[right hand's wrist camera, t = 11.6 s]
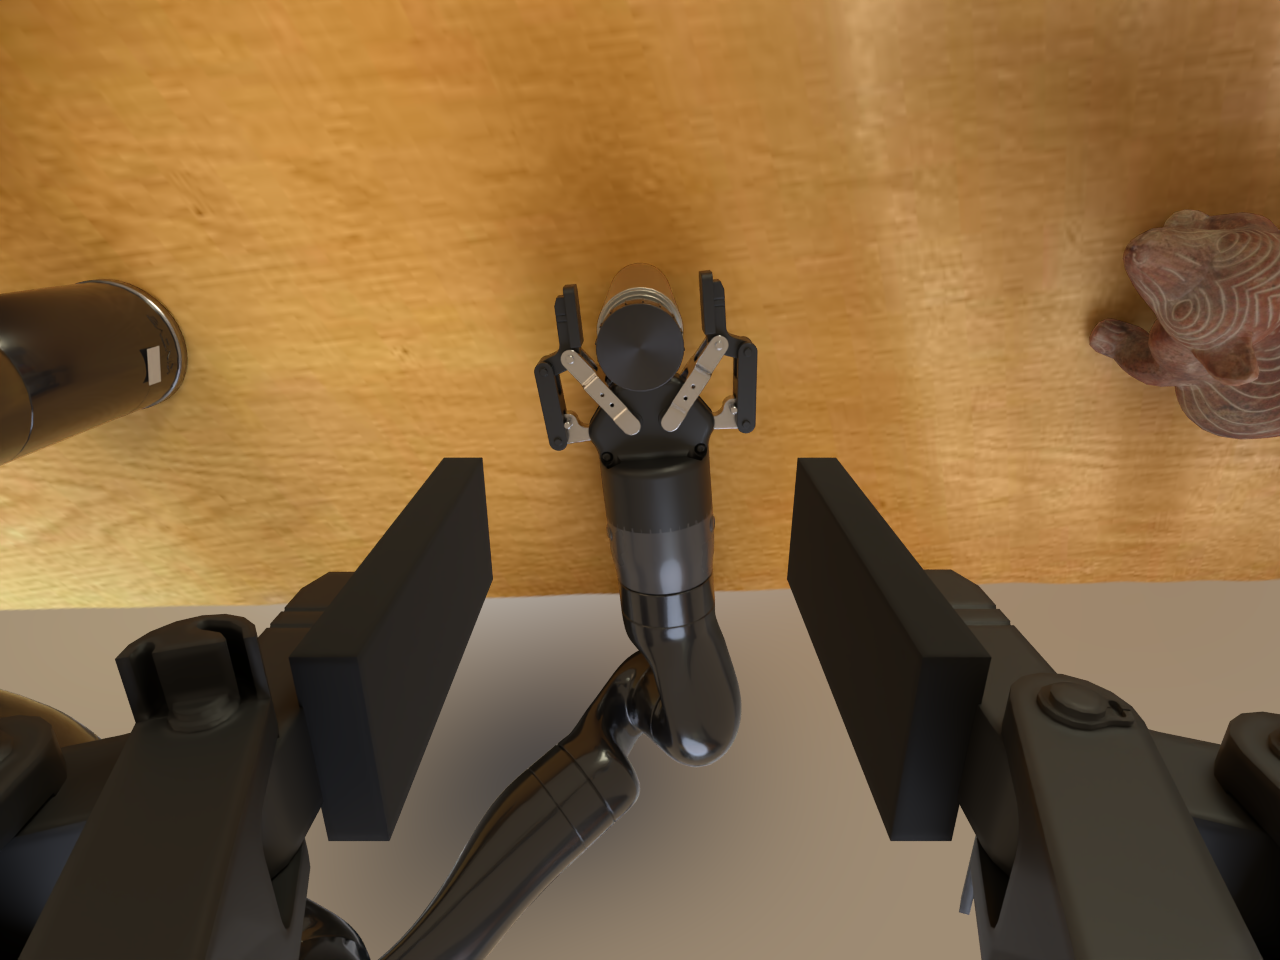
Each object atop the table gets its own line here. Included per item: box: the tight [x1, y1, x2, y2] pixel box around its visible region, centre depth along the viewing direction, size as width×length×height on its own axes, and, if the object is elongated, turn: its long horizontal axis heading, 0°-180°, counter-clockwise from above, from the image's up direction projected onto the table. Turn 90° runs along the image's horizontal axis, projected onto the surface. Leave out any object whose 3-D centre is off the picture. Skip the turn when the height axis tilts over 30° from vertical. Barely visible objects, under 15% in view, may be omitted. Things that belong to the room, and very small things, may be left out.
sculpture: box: [1090, 209, 1280, 439], centre depth 44 cm, size 14×25×15 cm, turn 71°
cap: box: [595, 298, 685, 391], centre depth 32 cm, size 4×4×2 cm
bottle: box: [597, 263, 683, 336], centre depth 41 cm, size 4×4×20 cm
